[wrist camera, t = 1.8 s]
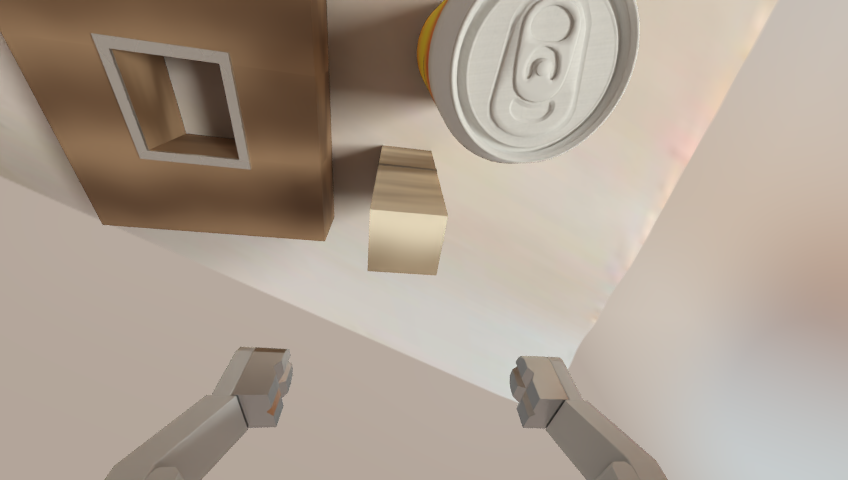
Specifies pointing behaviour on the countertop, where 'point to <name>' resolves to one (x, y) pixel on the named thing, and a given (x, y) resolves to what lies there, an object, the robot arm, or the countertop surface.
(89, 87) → the walnut board
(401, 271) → the birch peg
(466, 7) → the beer can
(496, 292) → the countertop surface
